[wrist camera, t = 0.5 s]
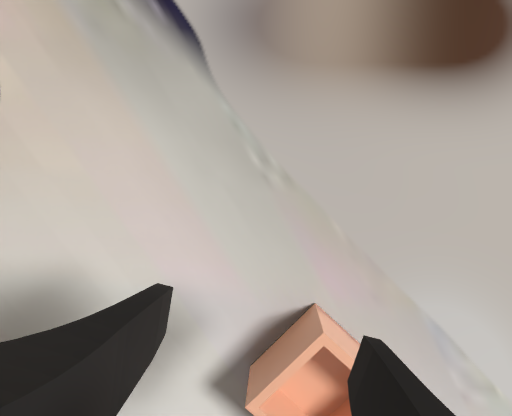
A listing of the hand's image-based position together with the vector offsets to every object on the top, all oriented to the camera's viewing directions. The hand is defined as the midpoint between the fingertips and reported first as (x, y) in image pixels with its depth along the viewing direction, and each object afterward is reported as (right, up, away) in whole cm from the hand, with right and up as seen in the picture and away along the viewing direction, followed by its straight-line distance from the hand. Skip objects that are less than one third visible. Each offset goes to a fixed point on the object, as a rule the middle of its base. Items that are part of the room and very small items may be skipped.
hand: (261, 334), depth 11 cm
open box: (+4, -7, +12) cm, 14 cm away
